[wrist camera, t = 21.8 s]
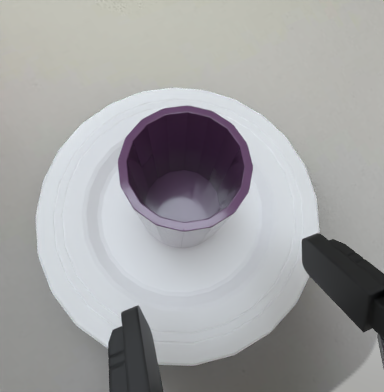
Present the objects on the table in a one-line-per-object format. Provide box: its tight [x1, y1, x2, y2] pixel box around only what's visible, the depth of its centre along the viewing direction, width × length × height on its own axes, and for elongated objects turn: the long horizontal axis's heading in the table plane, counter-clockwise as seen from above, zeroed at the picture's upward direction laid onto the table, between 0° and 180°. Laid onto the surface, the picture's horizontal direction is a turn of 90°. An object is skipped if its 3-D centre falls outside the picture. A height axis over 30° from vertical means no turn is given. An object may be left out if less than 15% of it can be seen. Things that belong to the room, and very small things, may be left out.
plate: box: [35, 87, 320, 366], centre depth 21 cm, size 21×21×2 cm
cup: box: [118, 105, 253, 248], centre depth 16 cm, size 6×6×8 cm
